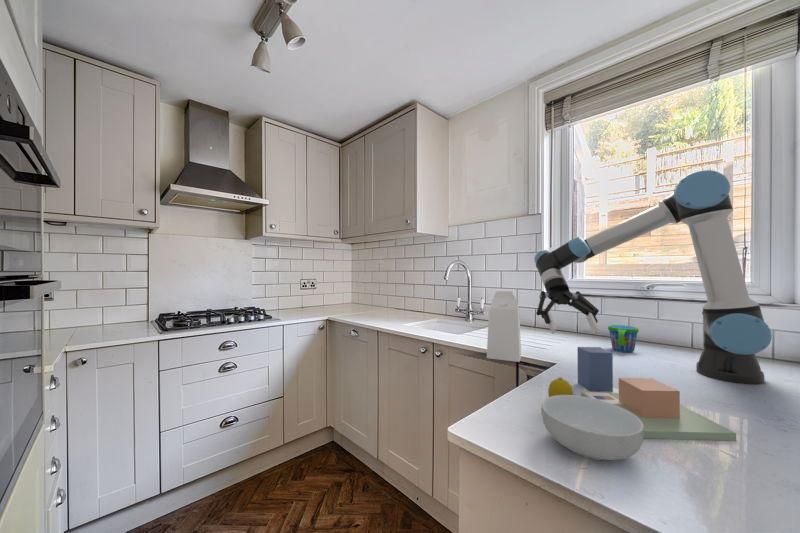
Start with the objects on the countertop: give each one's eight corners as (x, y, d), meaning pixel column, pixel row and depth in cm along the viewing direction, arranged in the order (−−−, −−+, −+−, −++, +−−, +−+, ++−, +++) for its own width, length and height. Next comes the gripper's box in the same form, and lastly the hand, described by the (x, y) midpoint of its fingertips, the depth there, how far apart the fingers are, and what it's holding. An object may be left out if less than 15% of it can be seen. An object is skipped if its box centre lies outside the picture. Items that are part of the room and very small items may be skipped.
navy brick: (599, 383, 94) (599, 347, 94) (612, 391, 88) (612, 352, 88) (577, 383, 94) (577, 346, 95) (589, 391, 88) (589, 352, 88)
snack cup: (612, 345, 142) (612, 323, 142) (641, 349, 134) (641, 326, 134) (603, 351, 131) (603, 327, 131) (634, 356, 123) (634, 331, 123)
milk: (521, 354, 127) (520, 290, 127) (519, 361, 116) (519, 292, 116) (490, 351, 132) (490, 289, 132) (486, 358, 121) (486, 291, 121)
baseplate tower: (658, 399, 82) (658, 370, 83) (736, 440, 63) (735, 403, 63) (581, 397, 83) (581, 369, 84) (633, 438, 63) (633, 401, 64)
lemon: (543, 408, 77) (543, 375, 77) (559, 404, 80) (559, 372, 80) (562, 417, 72) (562, 383, 72) (579, 413, 74) (579, 379, 75)
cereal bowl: (603, 488, 49) (603, 443, 49) (523, 436, 64) (523, 402, 64) (665, 461, 56) (665, 422, 56) (579, 420, 71) (579, 389, 71)
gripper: (585, 290, 119) (609, 338, 104) (518, 289, 120) (533, 337, 105) (592, 276, 113) (620, 325, 98) (523, 276, 115) (539, 324, 100)
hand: (575, 331), depth 101 cm, fingers open, 13 cm apart
